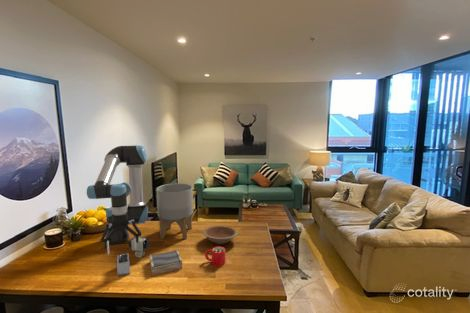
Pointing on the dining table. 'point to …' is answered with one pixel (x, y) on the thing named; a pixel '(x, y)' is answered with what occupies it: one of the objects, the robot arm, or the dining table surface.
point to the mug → (216, 256)
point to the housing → (123, 264)
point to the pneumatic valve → (139, 246)
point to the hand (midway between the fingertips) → (122, 250)
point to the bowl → (220, 233)
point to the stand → (165, 262)
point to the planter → (175, 207)
